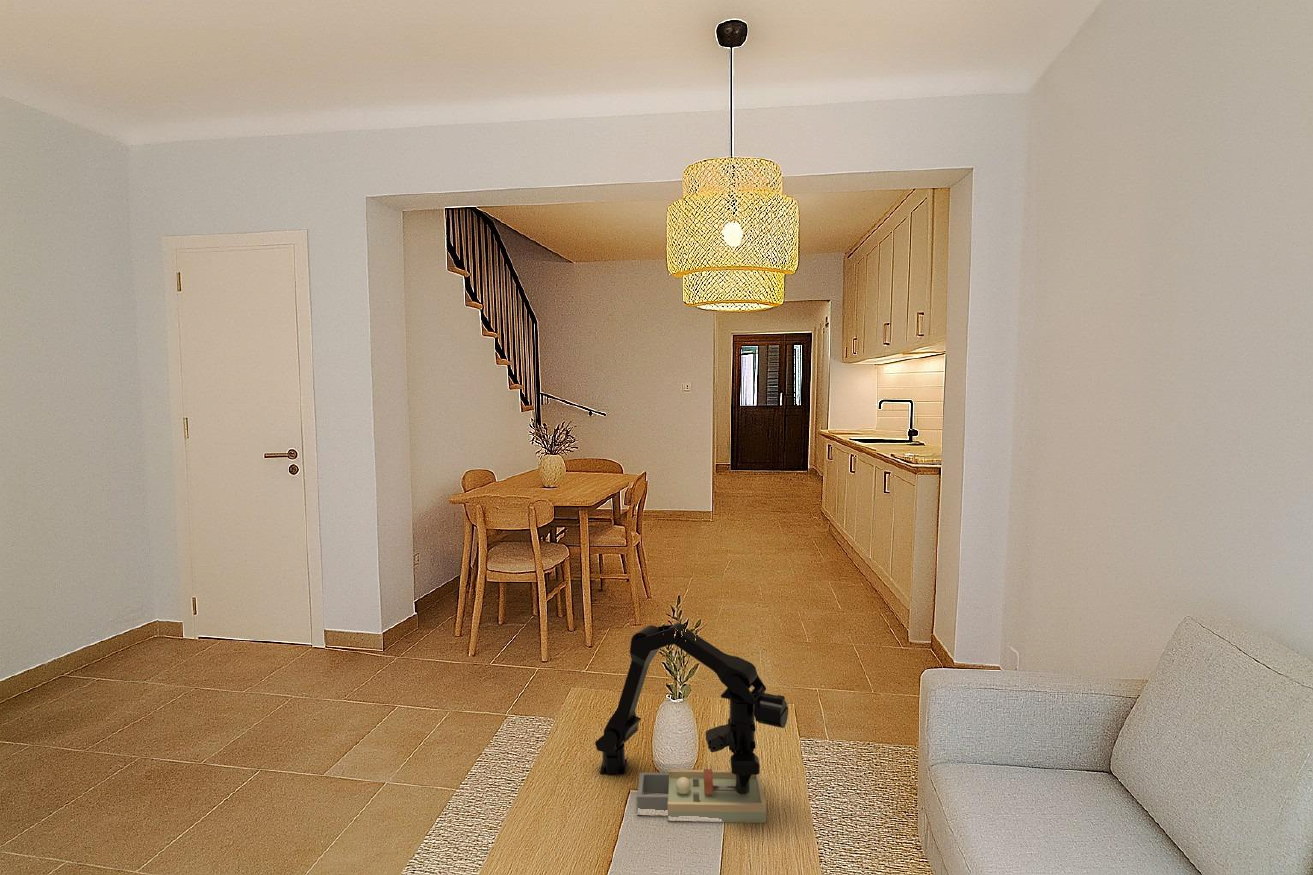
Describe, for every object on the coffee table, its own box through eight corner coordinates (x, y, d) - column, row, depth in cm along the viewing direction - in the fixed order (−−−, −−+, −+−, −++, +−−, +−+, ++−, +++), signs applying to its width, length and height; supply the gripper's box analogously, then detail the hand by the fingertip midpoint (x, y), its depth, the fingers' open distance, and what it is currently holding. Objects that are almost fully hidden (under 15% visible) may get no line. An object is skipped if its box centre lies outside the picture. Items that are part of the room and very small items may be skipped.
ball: (675, 788, 163) (675, 773, 163) (690, 788, 163) (690, 773, 163) (675, 797, 159) (675, 782, 159) (691, 797, 159) (690, 782, 159)
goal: (640, 790, 167) (640, 772, 166) (669, 790, 166) (668, 772, 166) (637, 815, 157) (637, 796, 156) (668, 815, 156) (667, 797, 156)
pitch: (669, 785, 168) (669, 768, 168) (759, 786, 167) (759, 769, 167) (667, 821, 154) (667, 803, 154) (765, 822, 153) (765, 804, 153)
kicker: (703, 786, 163) (703, 758, 162) (748, 786, 162) (748, 758, 162) (704, 795, 159) (704, 766, 159) (750, 795, 159) (750, 766, 158)
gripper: (706, 699, 169) (706, 760, 170) (708, 737, 150) (709, 806, 151) (751, 699, 168) (751, 760, 169) (759, 738, 150) (760, 806, 151)
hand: (742, 782), depth 160 cm, fingers closed on kicker, 3 cm apart
